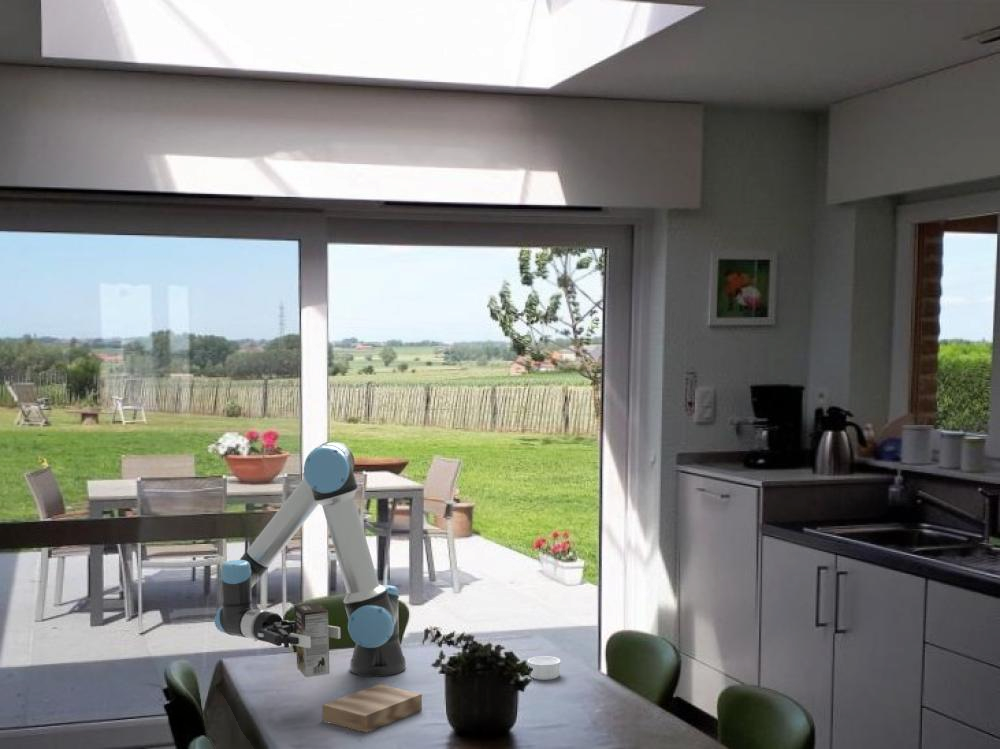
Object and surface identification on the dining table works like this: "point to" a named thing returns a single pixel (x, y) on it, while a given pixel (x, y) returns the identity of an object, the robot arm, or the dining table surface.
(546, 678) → the ramekin
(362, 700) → the riser
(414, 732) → the dining table surface
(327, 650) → the coffee box
